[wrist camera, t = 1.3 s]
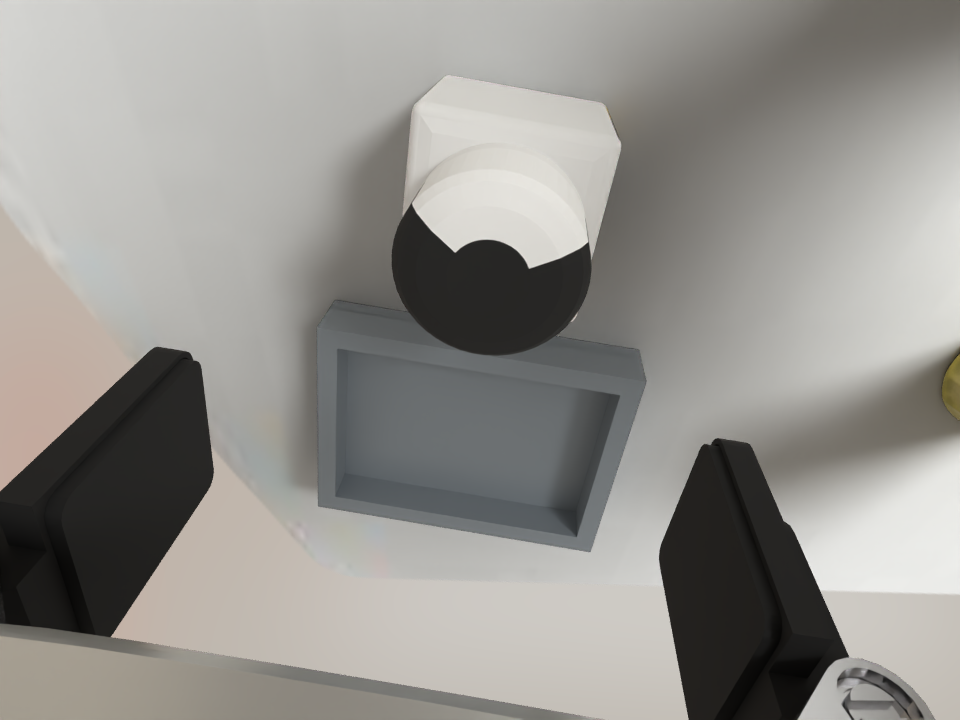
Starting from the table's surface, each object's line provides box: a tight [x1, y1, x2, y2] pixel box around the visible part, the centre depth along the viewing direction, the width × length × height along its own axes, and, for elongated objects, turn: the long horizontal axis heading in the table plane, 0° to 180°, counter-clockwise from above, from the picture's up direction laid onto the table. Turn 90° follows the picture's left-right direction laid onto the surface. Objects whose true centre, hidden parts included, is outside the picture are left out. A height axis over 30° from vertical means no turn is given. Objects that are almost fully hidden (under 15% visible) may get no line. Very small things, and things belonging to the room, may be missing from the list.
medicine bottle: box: [392, 75, 621, 356], centre depth 23 cm, size 7×7×12 cm
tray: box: [317, 300, 646, 552], centre depth 35 cm, size 16×12×3 cm
